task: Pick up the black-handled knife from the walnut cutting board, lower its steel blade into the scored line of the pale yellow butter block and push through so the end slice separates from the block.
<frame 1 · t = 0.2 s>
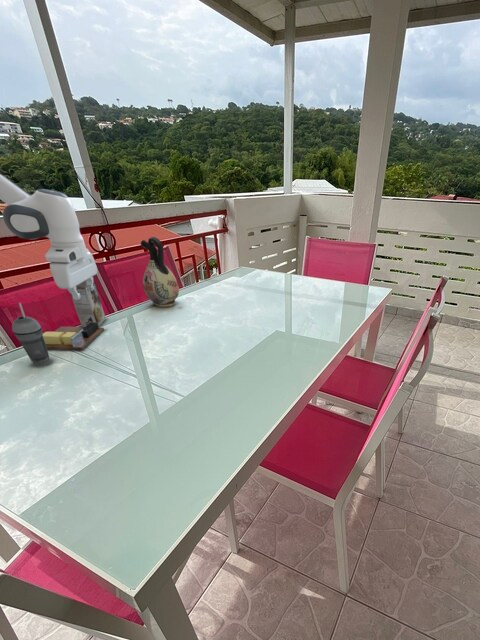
hand: (84, 294, 111), 18 cm above the table, tool pointing down, fingers open, 8 cm apart
beverage cup: (42, 363, 107), on the table
ceramic jug: (165, 305, 158), on the table
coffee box: (94, 323, 136), on the table
butter block: (54, 341, 118), point 1 cm above the table, touching cutting board
cutting board: (71, 339, 123), on the table
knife: (90, 332, 125), point 1 cm above the table, touching cutting board
butter slice: (71, 342, 118), point 1 cm above the table, touching cutting board
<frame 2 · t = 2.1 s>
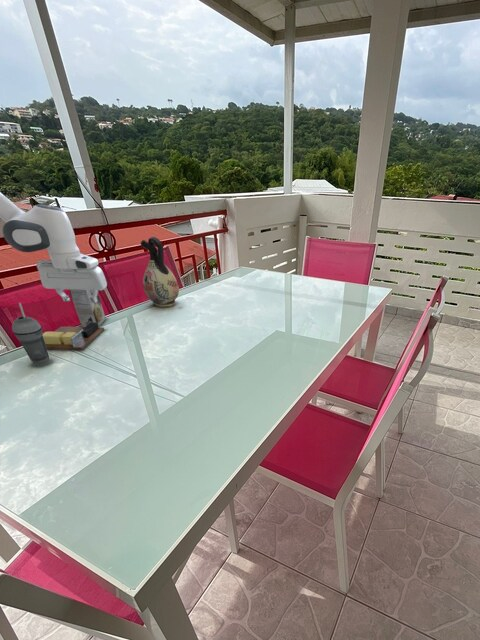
hand: (80, 301, 118), 13 cm above the table, tool pointing down, fingers open, 8 cm apart
nothing on the table moved.
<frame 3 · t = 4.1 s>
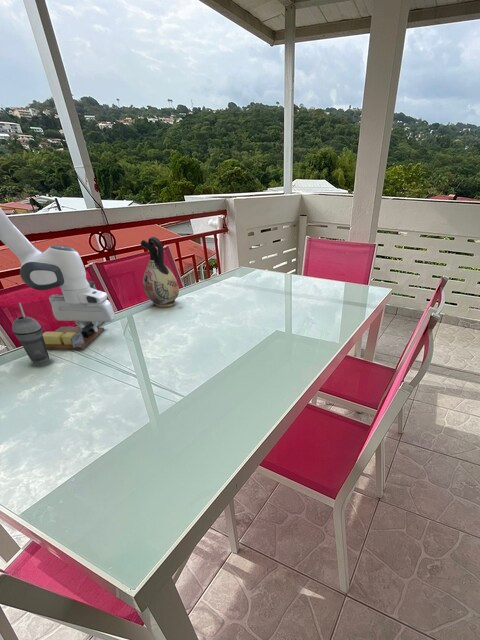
hand: (90, 331, 125), 2 cm above the table, tool pointing down, fingers closed on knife, 2 cm apart
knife: (90, 332, 125), point 1 cm above the table, touching cutting board, gripper
everything else where it was.
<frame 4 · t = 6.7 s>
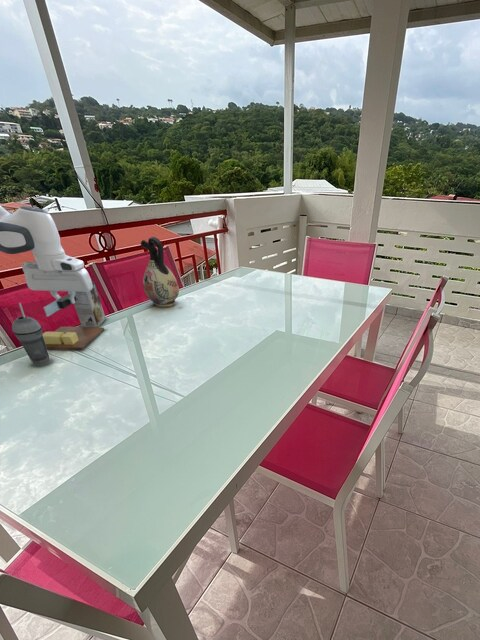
hand: (66, 303, 118), 13 cm above the table, tool pointing down, fingers closed on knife, 2 cm apart
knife: (67, 304, 119), point 12 cm above the table, touching gripper
everything else where it was.
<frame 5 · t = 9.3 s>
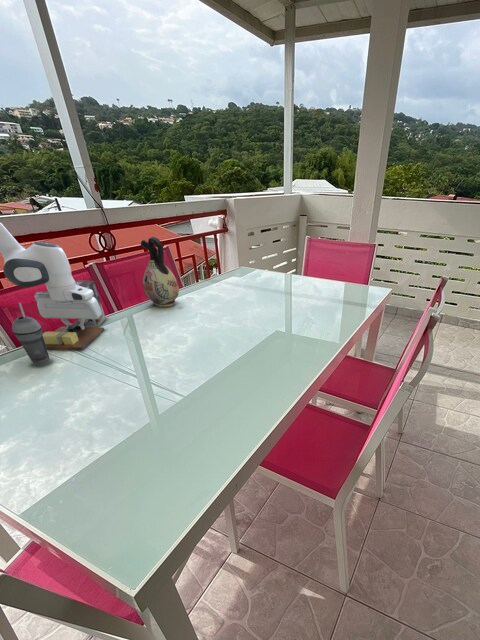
hand: (76, 329, 124), 3 cm above the table, tool pointing down, fingers closed on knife, 2 cm apart
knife: (77, 330, 124), point 2 cm above the table, touching gripper
everything else where it was.
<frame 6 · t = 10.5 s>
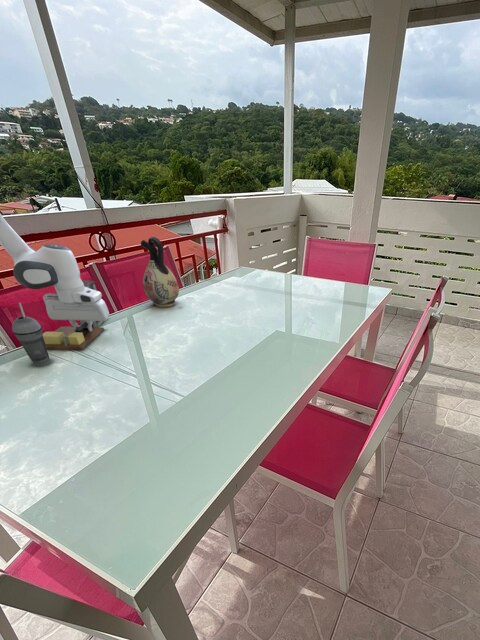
hand: (84, 330, 125), 2 cm above the table, tool pointing down, fingers closed on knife, 2 cm apart
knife: (84, 332, 125), point 1 cm above the table, touching butter slice, gripper
butter slice: (77, 342, 118), point 1 cm above the table, touching cutting board, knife
everything else where it was.
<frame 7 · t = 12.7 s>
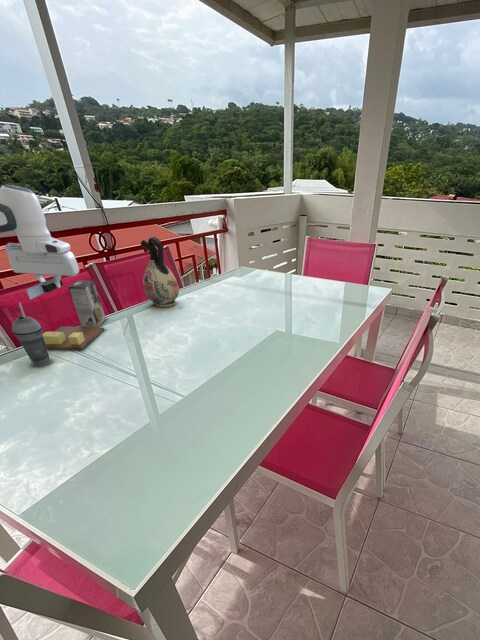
hand: (52, 287, 115), 18 cm above the table, tool pointing down, fingers closed on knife, 2 cm apart
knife: (52, 288, 116), point 18 cm above the table, touching gripper
butter slice: (77, 342, 118), point 1 cm above the table, touching cutting board
everything else where it was.
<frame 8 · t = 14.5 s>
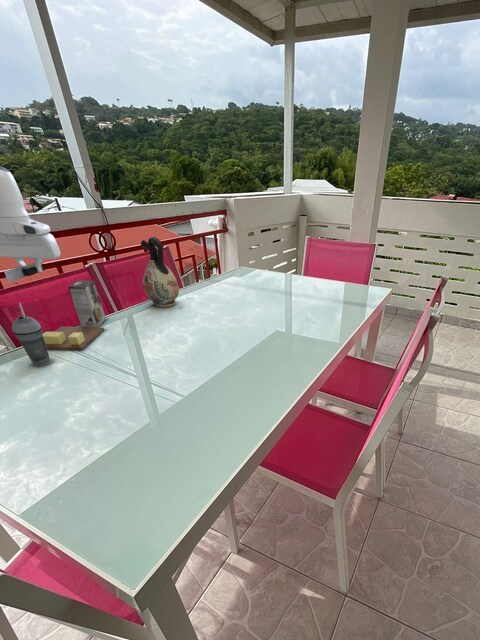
hand: (33, 271, 112), 23 cm above the table, tool pointing down, fingers closed on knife, 2 cm apart
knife: (33, 272, 113), point 23 cm above the table, touching gripper
everything else where it was.
at the end: butter slice moved 2.2 cm from its start; butter slice touching cutting board; butter block moved 0.0 cm from its start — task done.
